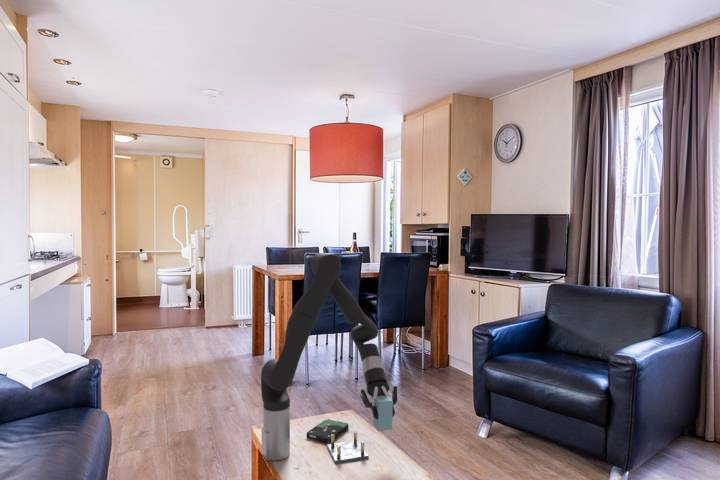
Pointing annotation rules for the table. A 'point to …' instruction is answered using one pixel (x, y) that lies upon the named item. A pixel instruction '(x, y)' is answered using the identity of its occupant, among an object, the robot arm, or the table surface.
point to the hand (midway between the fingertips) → (384, 417)
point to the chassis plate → (347, 450)
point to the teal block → (384, 413)
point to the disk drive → (327, 431)
